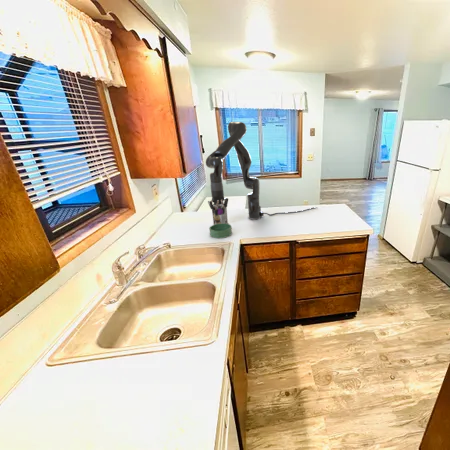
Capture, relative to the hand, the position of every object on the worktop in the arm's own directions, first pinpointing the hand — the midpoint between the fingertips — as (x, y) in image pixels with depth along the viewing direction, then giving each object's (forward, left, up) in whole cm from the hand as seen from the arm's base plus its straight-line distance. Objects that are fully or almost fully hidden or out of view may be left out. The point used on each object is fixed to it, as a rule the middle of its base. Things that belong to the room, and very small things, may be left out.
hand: (219, 214), depth 159 cm
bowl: (0, 0, -14) cm, 14 cm away
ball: (0, 0, +2) cm, 2 cm away
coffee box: (-10, -17, -15) cm, 24 cm away
